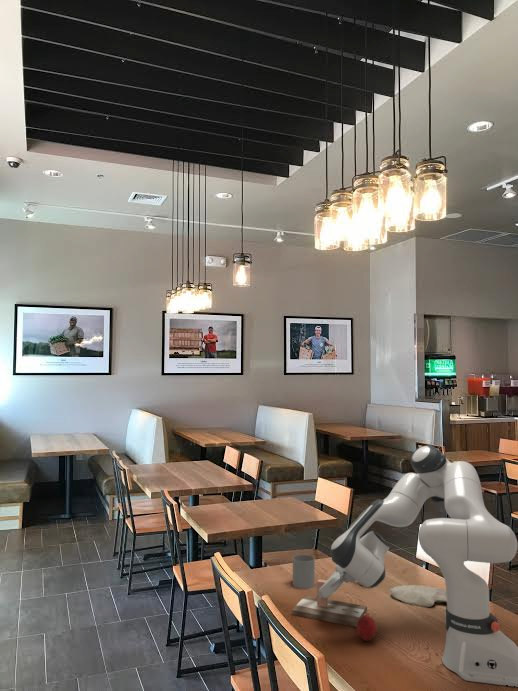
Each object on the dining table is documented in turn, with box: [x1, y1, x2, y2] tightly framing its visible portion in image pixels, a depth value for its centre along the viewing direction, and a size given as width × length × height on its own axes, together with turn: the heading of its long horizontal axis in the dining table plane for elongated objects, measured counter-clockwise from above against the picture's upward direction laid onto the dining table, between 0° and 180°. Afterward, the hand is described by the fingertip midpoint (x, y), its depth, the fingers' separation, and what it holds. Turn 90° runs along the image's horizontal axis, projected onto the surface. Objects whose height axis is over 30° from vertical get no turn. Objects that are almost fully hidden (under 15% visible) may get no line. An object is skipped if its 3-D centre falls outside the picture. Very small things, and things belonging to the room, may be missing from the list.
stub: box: [316, 578, 329, 607], centre depth 187 cm, size 3×2×8 cm
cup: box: [292, 554, 316, 590], centre depth 212 cm, size 8×8×10 cm
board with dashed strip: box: [291, 595, 368, 628], centre depth 185 cm, size 22×14×2 cm, turn 66°
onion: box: [356, 612, 377, 642], centre depth 165 cm, size 6×6×8 cm
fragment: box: [389, 584, 447, 608], centre depth 197 cm, size 15×20×5 cm
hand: (320, 593), depth 187 cm, fingers closed on stub, 2 cm apart
